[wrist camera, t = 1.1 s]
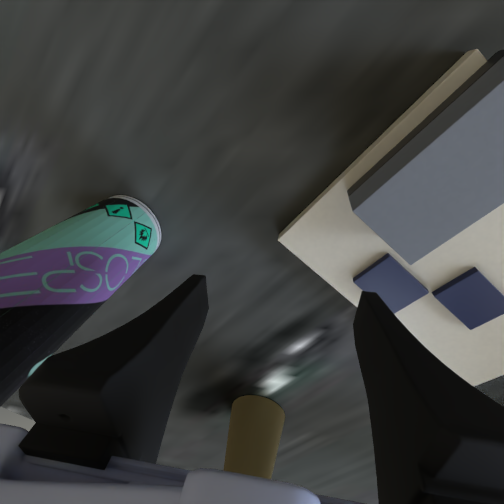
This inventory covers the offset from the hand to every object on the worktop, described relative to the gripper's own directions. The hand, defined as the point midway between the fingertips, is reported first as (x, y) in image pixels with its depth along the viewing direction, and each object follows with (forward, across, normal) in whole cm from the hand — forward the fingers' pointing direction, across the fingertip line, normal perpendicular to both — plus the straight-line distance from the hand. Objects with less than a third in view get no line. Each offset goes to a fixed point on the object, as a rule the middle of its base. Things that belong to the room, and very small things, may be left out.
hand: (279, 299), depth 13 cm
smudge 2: (+7, -7, +3) cm, 11 cm away
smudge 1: (+7, -13, +4) cm, 15 cm away
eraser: (+7, -8, -5) cm, 12 cm away
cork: (+8, +2, +23) cm, 24 cm away
